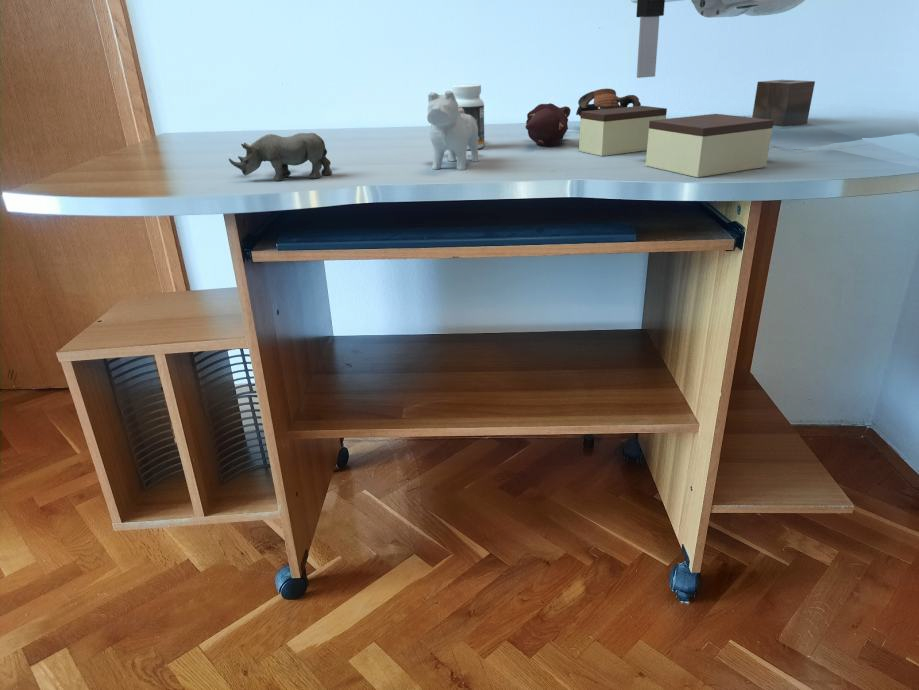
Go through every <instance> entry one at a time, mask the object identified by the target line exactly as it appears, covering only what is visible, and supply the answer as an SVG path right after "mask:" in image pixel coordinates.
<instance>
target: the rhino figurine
mask: <svg viewBox="0 0 919 690" xmlns="http://www.w3.org/2000/svg"><path fill="white" fill-rule="evenodd" d="M240 145H241V147H242V148H243V149H244V150H245V151H246V154H245V156H240V155H238V156H237V159H238V160H239V161H240V162H239V161H235V160H232V159H231V158H230V157H229V158H228V161H229V163H230V164H231V165H232V166H234V167H235V168H237V169H239V170H240V171H241V174H242V175H244V176H245V177H246V176H249V175H250V174H252V173H253V172H255V171H257V170H258V169H259V168H260V167H261V166H262V165H261V164H262V163H263V162H270V164H271V166H272V168H273V169H274V172H275V175H274V176H273V177H272V181H274V182H279V181H283V180H285V178H287V177H289V176H291V174H292V172H291V170H289V166H299V165H300V166H301V165H302V164H304V163H306V162H307V161H309V163H311V172H310V173H309V174H308V178H309V179H318V178H321V177H322V176H328V175H332V174H333V170H332V169H331V167H330V166H331V164H332V163H331V160H330V159H329V158H327V157H326V156H327V154H328V149H327V148H326V144H325V141H324V139H323V138H322V137H321V136H320V135H318V134H317V133H315V132H299V133H296V134H293V135H291V136H280V135H278V134H271V133H270V134H269V133H268V134H266V135H263V136H261V137H260V138H258V139H257V140H255V141H254V142H252V143H251V144H248V143H246V142H243V143H241V144H240ZM322 168H323V169H322ZM320 170H321V172H320Z"/></svg>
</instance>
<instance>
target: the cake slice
mask: <svg viewBox="0 0 919 690" xmlns="http://www.w3.org/2000/svg"><path fill="white" fill-rule="evenodd" d="M667 112H668V108H666V107H657V106H649V105H641V106H633V105H632V106H627V107H623V108H612V109H602V110H592V111H581V116H579V117H580V119H579V140H578V141H579V142H578V152H581V153H586V154H591V155H594V156H599V157H607V156H614V155H621V154H631V153H636V152H637V153H638V152H645V151H646V152H647V144H648V133H649V122H650V121H652V120H662V119H667Z"/></svg>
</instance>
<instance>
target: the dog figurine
mask: <svg viewBox="0 0 919 690" xmlns="http://www.w3.org/2000/svg"><path fill="white" fill-rule="evenodd" d="M427 101H428V104H427V116H426V119H427V122H428V124H430V128H429V129H430V130H429V138H430V142H431V145H432V147H433V159H432V166H431V168H432V170H441V169H442V164H443V160H444V155H445V153H446V151H448V154H447V155H448V156H447V161H448V162H456V170H459V171H463V170H466V169H467V168H466V164H467V163H466V160H467V150H466V148H467V146H469V147H470V153H471V161H472V162H479V149H478V127H477V123H476V122H475V120H474V118H473V117H472V116H471V115H468V114H465V113H464V109H462V108H460V109H458V103H457V101H456V99H455V96H454V94H453V91H451V90H446V91H445V92H444V94H438V93H437V92H432V91H431V92H429V93H428V95H427Z"/></svg>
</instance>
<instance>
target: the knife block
mask: <svg viewBox="0 0 919 690" xmlns="http://www.w3.org/2000/svg"><path fill="white" fill-rule="evenodd" d="M815 84H816V81H815V80H797V79H796V80H795V79H772V80H763V81H761V80H760V81H757V84H756V91H755V97H754V103H753V109H752V116H751V118H759V119H768V120H774V123H773V127H783V128H784V127H792V126H801V125H807V124H808V120H809V115H810V110H811V105H812V100H813V99H812V98H813V94H814V89H815Z"/></svg>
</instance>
